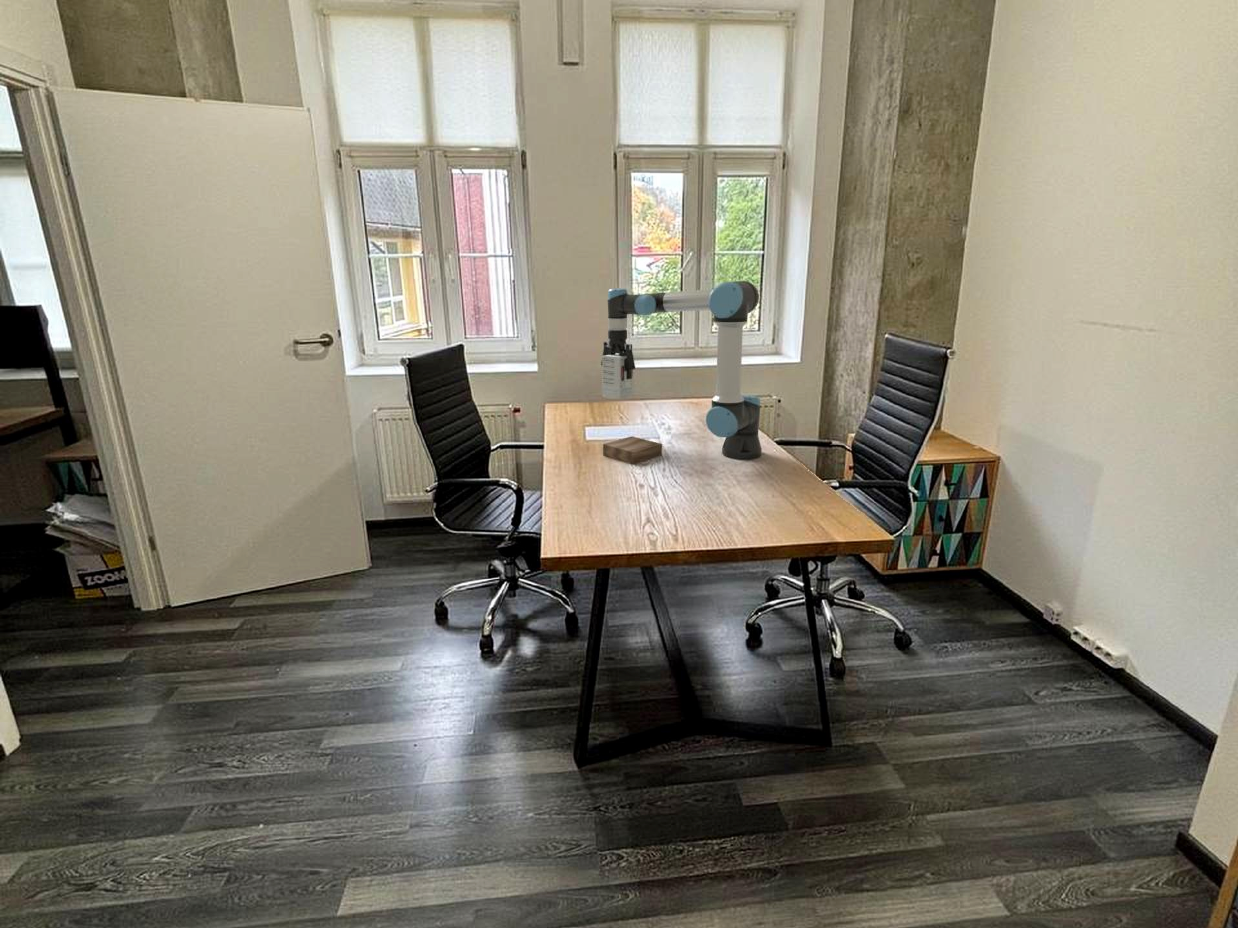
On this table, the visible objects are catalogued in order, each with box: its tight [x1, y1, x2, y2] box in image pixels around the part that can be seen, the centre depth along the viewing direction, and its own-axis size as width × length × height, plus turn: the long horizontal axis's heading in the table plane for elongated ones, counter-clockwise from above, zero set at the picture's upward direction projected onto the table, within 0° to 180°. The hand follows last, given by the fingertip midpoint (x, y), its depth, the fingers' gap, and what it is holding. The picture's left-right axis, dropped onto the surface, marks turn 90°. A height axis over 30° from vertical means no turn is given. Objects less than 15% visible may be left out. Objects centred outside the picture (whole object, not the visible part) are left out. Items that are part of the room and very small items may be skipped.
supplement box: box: [601, 353, 635, 400], centre depth 259 cm, size 10×9×17 cm
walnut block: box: [602, 435, 663, 465], centre depth 247 cm, size 16×16×5 cm
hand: (617, 385), depth 260 cm, fingers closed on supplement box, 10 cm apart
